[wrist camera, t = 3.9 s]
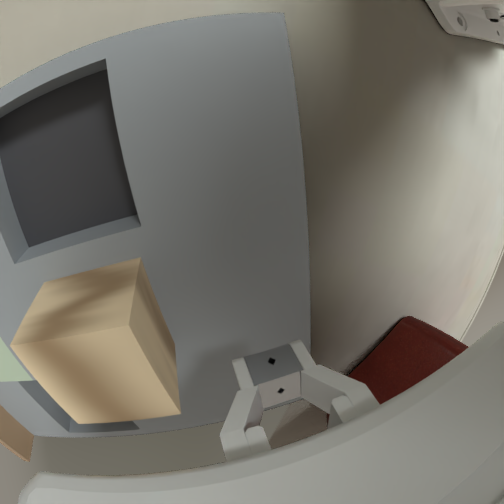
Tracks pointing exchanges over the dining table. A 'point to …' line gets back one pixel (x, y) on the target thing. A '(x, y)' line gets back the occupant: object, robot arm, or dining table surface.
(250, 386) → the robot arm
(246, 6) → the dining table surface
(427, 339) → the plant pot
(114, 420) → the oak block
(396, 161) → the dining table surface
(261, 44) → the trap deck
